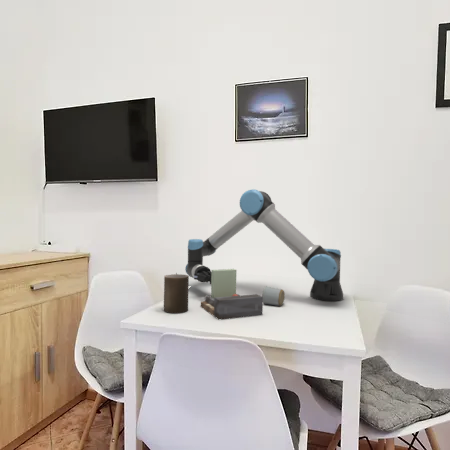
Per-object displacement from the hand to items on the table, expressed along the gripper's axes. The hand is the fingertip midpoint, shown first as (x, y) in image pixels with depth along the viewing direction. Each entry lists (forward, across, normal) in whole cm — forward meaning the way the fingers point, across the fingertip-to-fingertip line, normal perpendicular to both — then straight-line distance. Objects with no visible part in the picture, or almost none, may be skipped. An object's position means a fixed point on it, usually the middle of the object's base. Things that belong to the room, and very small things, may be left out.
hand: (220, 282), depth 152 cm
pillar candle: (+1, +19, -10) cm, 22 cm away
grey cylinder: (+5, -23, -10) cm, 26 cm away
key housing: (+8, -1, -10) cm, 13 cm away
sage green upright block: (+2, -1, -8) cm, 8 cm away
